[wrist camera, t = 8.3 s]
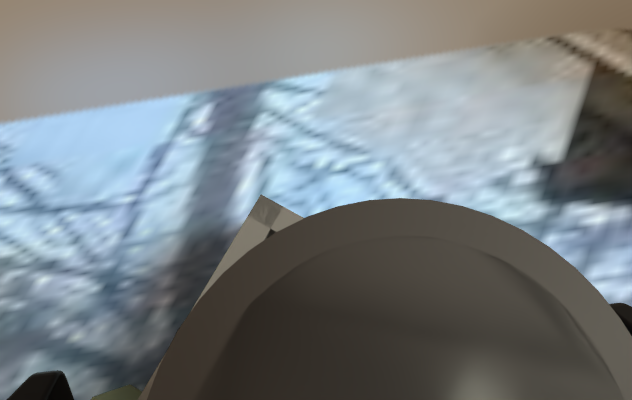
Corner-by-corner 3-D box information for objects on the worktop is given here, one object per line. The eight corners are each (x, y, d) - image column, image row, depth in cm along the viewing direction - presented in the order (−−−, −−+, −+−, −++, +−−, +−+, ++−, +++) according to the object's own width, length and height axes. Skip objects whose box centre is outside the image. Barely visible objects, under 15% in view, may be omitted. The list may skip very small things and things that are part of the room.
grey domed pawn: (332, 480, 17) (575, 966, 4) (199, 404, 18) (2, 622, 4) (398, 340, 19) (740, 349, 5) (274, 271, 19) (308, 113, 6)
